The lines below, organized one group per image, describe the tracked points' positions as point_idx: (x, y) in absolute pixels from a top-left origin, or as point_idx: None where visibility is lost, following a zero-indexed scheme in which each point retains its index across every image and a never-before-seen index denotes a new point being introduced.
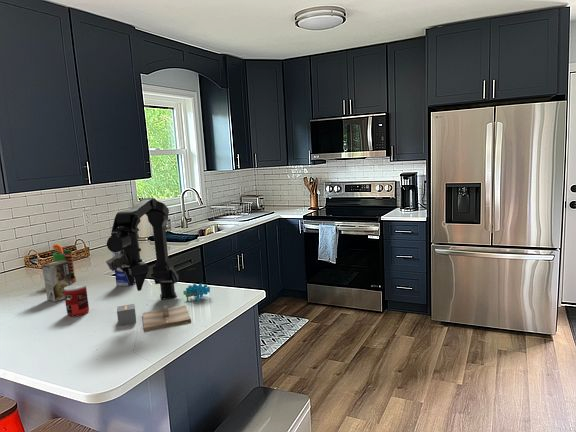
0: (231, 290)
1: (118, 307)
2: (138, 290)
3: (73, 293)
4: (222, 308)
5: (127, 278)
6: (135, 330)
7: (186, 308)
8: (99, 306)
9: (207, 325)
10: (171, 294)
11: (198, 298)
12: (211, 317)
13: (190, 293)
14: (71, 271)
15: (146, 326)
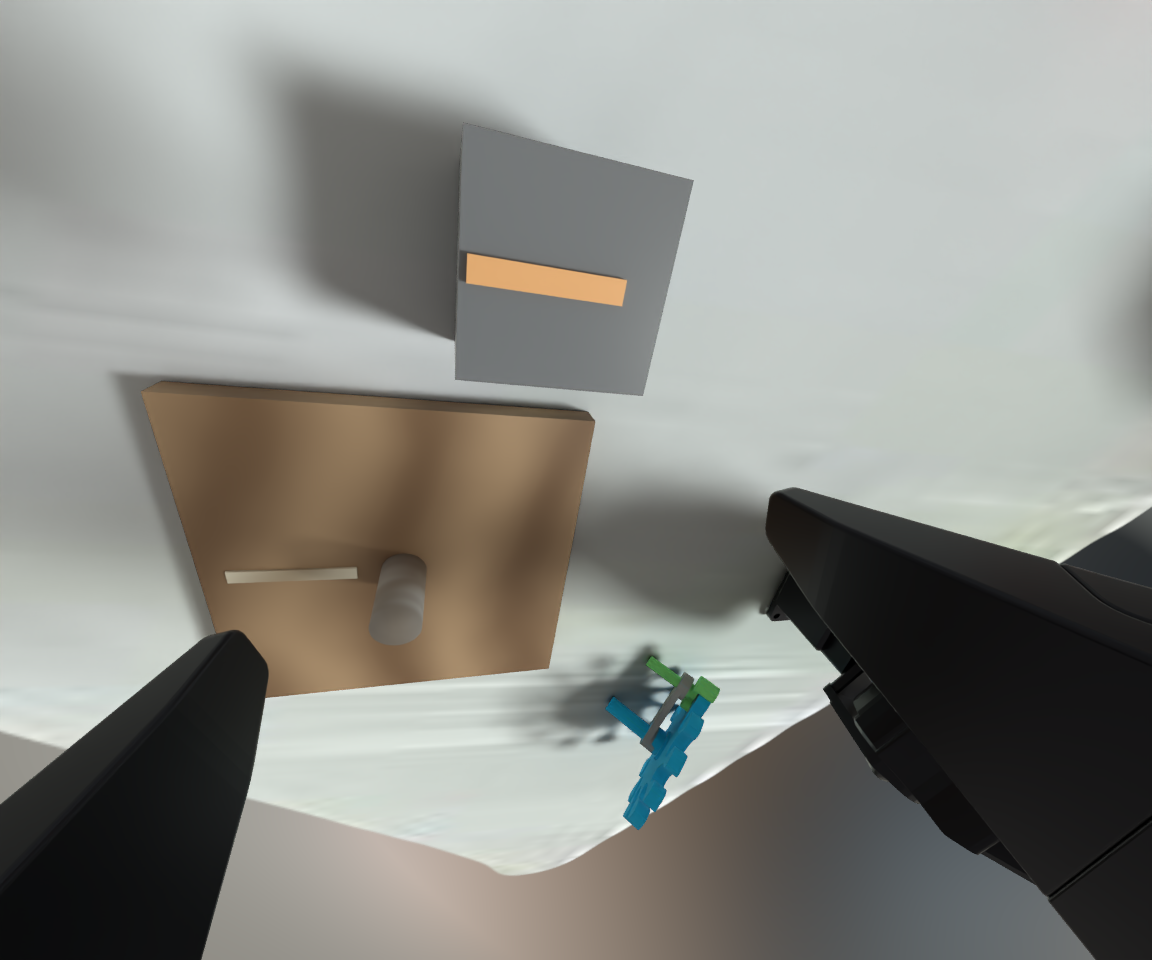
0: None
1: (641, 188)
2: (206, 647)
3: None
4: (416, 787)
5: (966, 553)
6: (221, 304)
7: (481, 674)
8: (1124, 79)
9: None
10: (785, 612)
11: (615, 716)
12: (288, 758)
13: (681, 706)
14: None
15: (175, 418)
